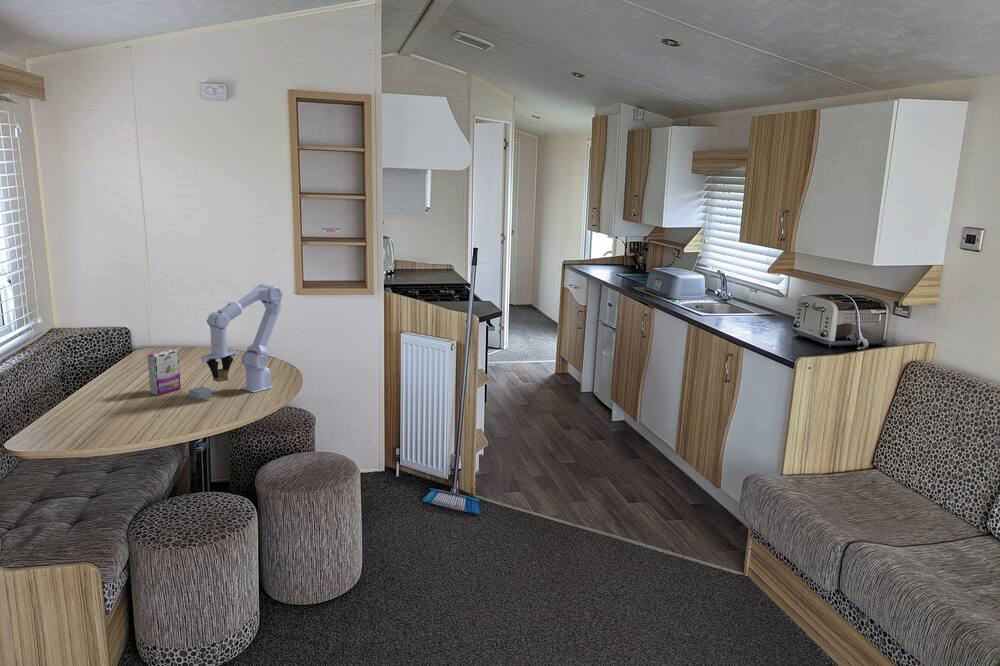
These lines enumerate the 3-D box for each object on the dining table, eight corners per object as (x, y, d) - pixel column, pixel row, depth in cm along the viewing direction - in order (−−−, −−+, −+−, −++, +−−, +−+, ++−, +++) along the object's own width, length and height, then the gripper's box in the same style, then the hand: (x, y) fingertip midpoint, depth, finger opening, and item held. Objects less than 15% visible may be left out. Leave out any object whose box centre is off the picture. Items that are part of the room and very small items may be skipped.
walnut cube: (222, 378, 284) (221, 368, 283) (228, 380, 281) (227, 370, 281) (213, 380, 280) (212, 370, 280) (219, 382, 278) (218, 372, 277)
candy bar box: (172, 387, 293) (170, 348, 290) (181, 389, 291) (179, 350, 288) (149, 394, 283) (146, 354, 280) (158, 396, 281) (155, 356, 278)
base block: (202, 393, 288) (202, 386, 287) (211, 396, 285) (211, 389, 284) (189, 397, 283) (188, 389, 282) (198, 399, 280) (198, 392, 279)
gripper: (229, 338, 286) (230, 370, 289) (196, 344, 274) (197, 378, 277) (239, 341, 282) (241, 374, 285) (206, 347, 270) (208, 381, 273)
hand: (220, 376), depth 281 cm, fingers closed on walnut cube, 4 cm apart
